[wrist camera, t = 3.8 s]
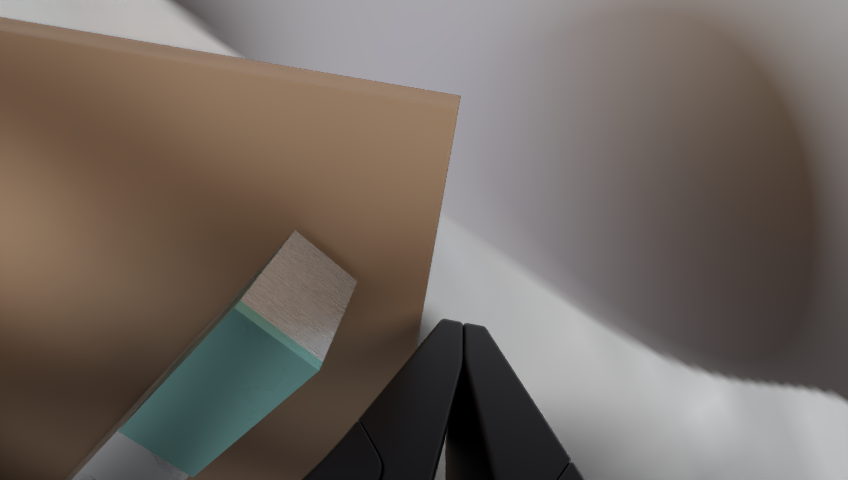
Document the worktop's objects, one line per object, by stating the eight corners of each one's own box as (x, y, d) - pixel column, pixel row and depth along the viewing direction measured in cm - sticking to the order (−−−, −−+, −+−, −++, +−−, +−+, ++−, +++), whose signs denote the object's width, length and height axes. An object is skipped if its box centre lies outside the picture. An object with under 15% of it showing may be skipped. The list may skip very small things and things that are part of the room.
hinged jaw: (83, 534, 15) (13, 629, 13) (36, 509, 15) (-44, 603, 13) (357, 281, 10) (319, 371, 7) (295, 230, 9) (234, 307, 7)
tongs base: (373, 591, 18) (334, 802, 13) (-94, 497, 18) (-289, 668, 14) (461, 96, 9) (439, 200, 5) (-417, -55, 10) (-1223, -94, 5)
